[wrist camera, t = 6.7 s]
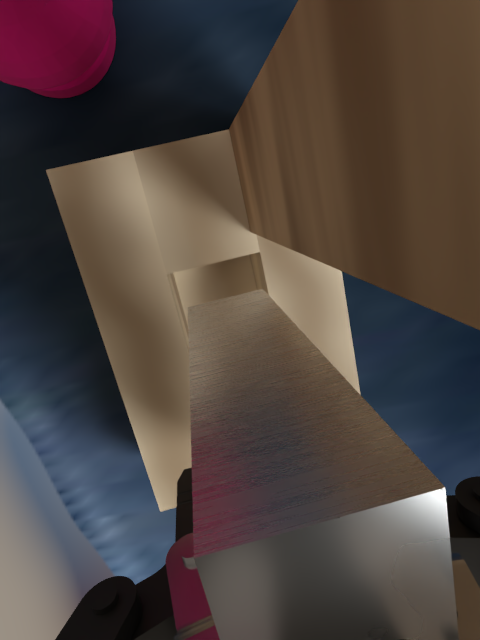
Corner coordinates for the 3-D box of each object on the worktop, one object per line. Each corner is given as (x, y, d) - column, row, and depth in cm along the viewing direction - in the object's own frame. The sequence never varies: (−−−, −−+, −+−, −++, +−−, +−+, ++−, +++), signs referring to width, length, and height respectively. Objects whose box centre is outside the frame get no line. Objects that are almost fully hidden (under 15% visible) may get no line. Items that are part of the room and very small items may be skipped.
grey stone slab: (262, 288, 16) (445, 487, 5) (302, 479, 19) (482, 902, 7) (187, 307, 16) (193, 557, 5) (237, 496, 19) (321, 957, 7)
